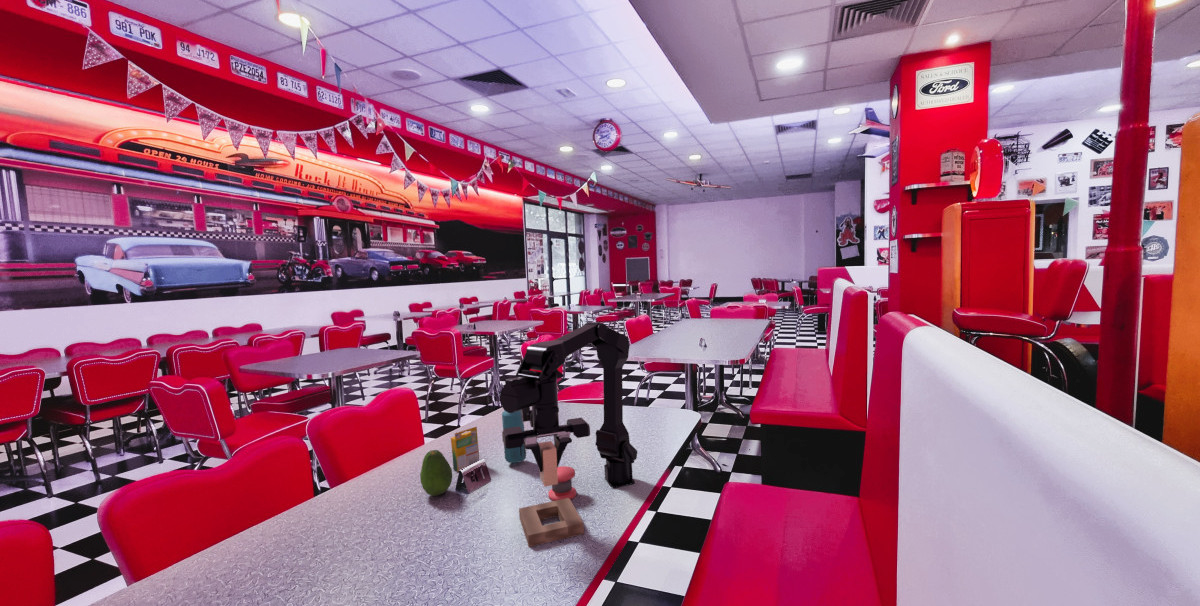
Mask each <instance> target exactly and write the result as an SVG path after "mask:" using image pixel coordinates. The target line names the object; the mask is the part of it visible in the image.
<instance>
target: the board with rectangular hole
mask: <svg viewBox="0 0 1200 606" xmlns="http://www.w3.org/2000/svg"><path fill="white" fill-rule="evenodd" d="M518 513H519V520H520V521H519V522H520V525H521V527H522V530H523V532H524V533H523V534H524V537H525V539H526V543H527V547H528V548H530V547H535V546H538V545H539V546H540V545H544V544H546V543H547V544H548V543H551V542H552V543H553V542H555V541H560V540H564V539H565V540H566V539H568V538H573V537H577V536H580V535H582V536H583V535H584V534H585V529H584V527H585V525H584V521H583V519H582V518H581V517H580V515H579V513H578V510H576V507H575V506H574V504H573V502H572V500H570V499H569V498H566V499H561V500H557V501H552V500H551V501H548V502H543V503H538V504H533V505H529V506H524V507H519V508H518ZM555 517H558V520H559V521H557V522H553V523H549V524H544V525H543V524H542V522H541V521H543V520H547V519H550V518H552V519H553V518H555Z"/></svg>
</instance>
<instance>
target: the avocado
mask: <svg viewBox="0 0 1200 606" xmlns="http://www.w3.org/2000/svg"><path fill="white" fill-rule="evenodd" d="M419 476H420V477H419V478H420V479H419V480H420V484H421V486H422V489H423V491H424V492H425V493H426V494H427V495H429V496H432V497H436V496H440V495H442V494H444V493H446V491H448V490H449V488H450V486H451V484H452V480H453V470H452V467H451V465H450V463H449V462H448V460H447V459H446V457H445V456H444V454H443V453H442V452H441V451H440V450H438V449H432V450H429V451H428V452H426V453H425V455H424V457H423V459H422V463H421V470H420V474H419Z"/></svg>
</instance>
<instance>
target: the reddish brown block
mask: <svg viewBox="0 0 1200 606" xmlns="http://www.w3.org/2000/svg"><path fill="white" fill-rule="evenodd" d="M538 444H539V446H540V453H541V460H542V472H540V471H539V479H540V481H541V482H542V484H543V487H552V485H556V484H558V474H557V453H556V447H555V446H554V442H553V441H551V440H550V441H548V440H547V441H543V442H538Z"/></svg>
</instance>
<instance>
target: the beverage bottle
mask: <svg viewBox="0 0 1200 606" xmlns="http://www.w3.org/2000/svg"><path fill="white" fill-rule="evenodd" d="M501 416H502V417H501V420H502V431H503V430H504V429H505V428H512V427H519V426H520V428H521V429H522V431H526V429H525V422H522V418H521V410H519V411H516V412H513V413H508V412H506V411H505V410H504V409H503V411H502V413H501ZM503 452H504V454H503V455H504V459H505V461H506V462H507V463H509V464H515V463H521V462H523V461H525V460H526V458H527V449H526V448H525V446H524V444H523V445H522V446H521V447H517V448H511V449H507V448H505V445H504V444H503Z"/></svg>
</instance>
